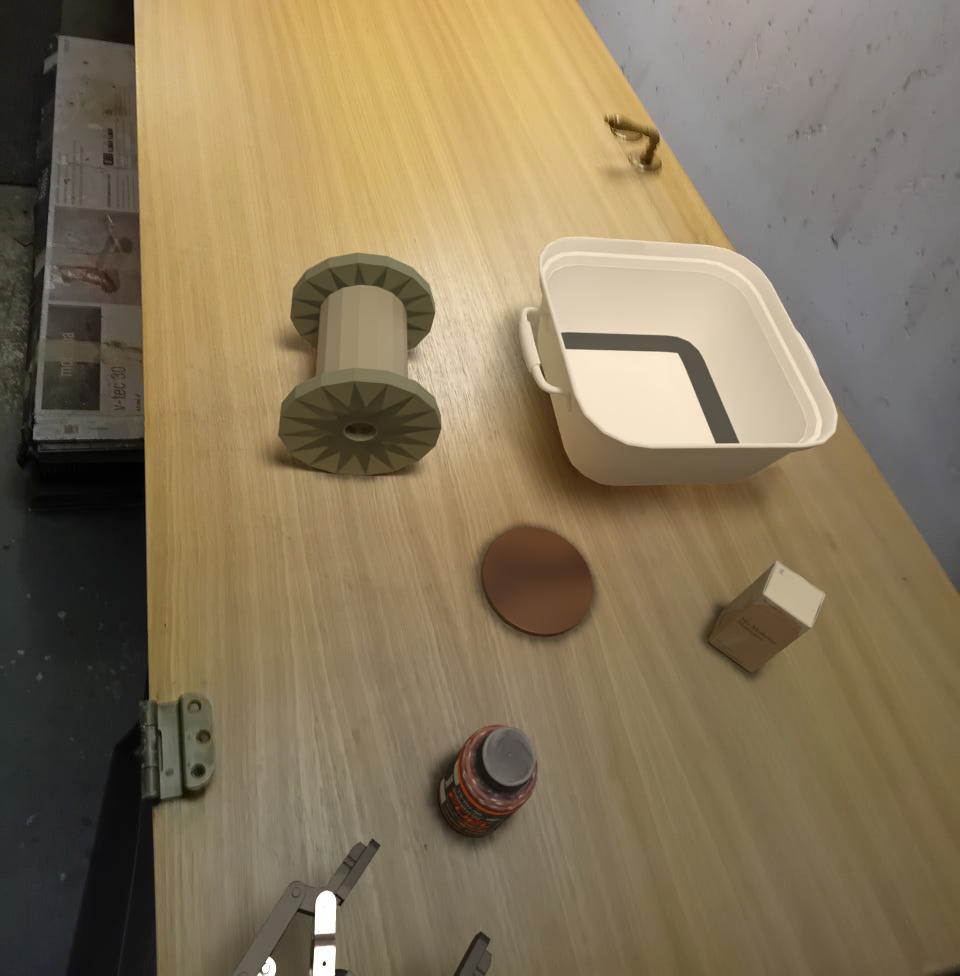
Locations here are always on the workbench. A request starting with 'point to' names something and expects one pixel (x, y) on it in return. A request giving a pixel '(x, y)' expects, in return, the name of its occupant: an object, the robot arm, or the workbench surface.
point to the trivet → (537, 581)
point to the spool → (361, 367)
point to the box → (767, 617)
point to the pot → (670, 363)
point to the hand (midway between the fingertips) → (427, 889)
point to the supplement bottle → (488, 780)
